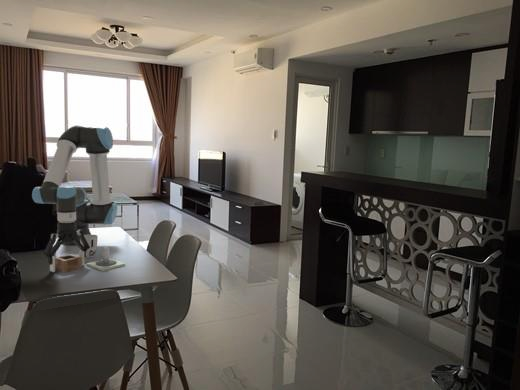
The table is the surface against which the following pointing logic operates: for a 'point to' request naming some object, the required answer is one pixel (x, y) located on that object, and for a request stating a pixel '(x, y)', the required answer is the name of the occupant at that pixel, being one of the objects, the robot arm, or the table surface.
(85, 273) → the table surface
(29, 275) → the table surface
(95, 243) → the cup
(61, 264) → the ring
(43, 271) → the table surface
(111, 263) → the peg stand
